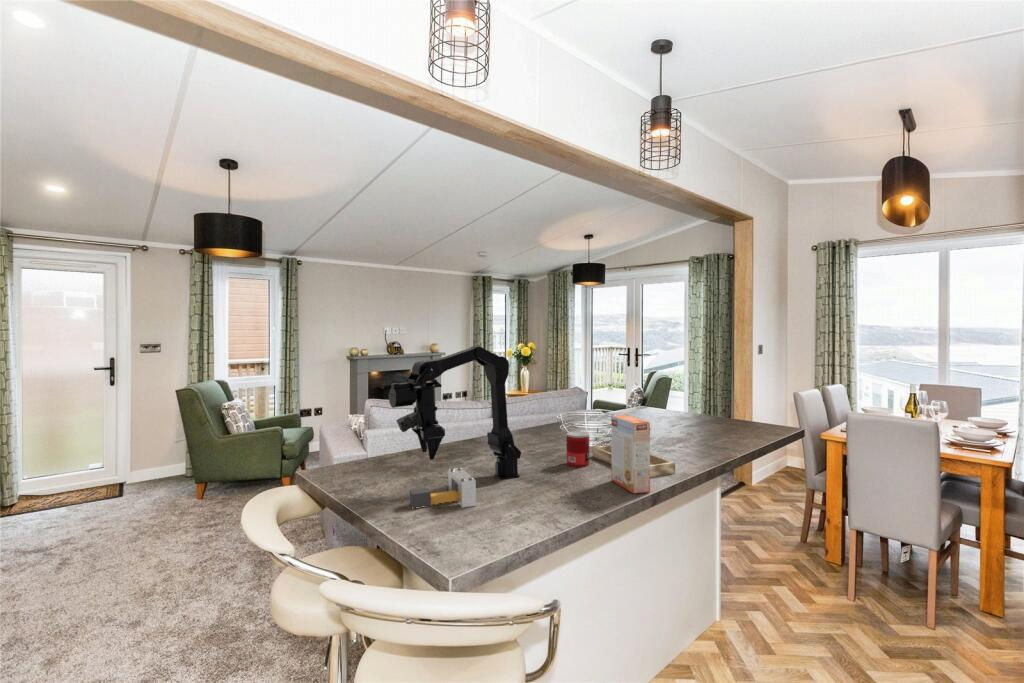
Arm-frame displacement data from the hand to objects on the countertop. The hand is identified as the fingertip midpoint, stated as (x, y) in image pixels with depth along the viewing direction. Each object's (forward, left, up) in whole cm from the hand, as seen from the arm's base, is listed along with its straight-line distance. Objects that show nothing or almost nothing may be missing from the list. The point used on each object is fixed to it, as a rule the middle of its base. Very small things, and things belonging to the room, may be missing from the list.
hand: (427, 455), depth 144 cm
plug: (-1, +9, -11) cm, 14 cm away
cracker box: (-58, +20, -11) cm, 62 cm away
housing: (-8, +9, -11) cm, 16 cm away
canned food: (-56, -8, -11) cm, 57 cm away
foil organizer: (-73, 0, -11) cm, 73 cm away
